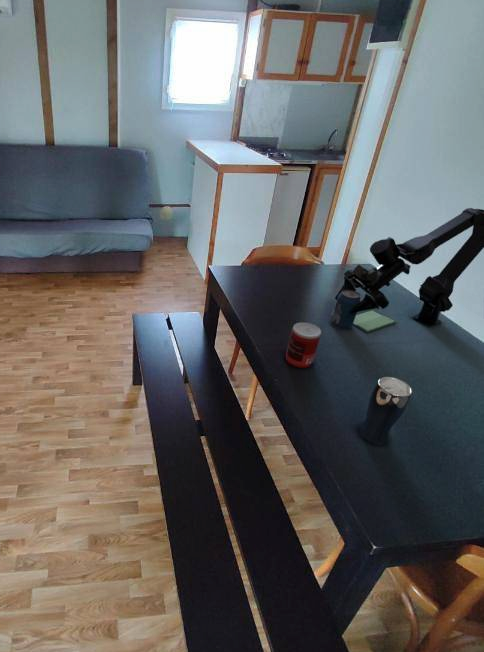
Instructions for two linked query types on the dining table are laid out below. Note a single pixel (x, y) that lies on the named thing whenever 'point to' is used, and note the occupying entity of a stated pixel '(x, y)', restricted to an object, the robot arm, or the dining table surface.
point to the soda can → (345, 309)
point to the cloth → (371, 321)
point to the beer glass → (384, 409)
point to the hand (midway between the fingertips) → (342, 305)
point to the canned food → (303, 345)
